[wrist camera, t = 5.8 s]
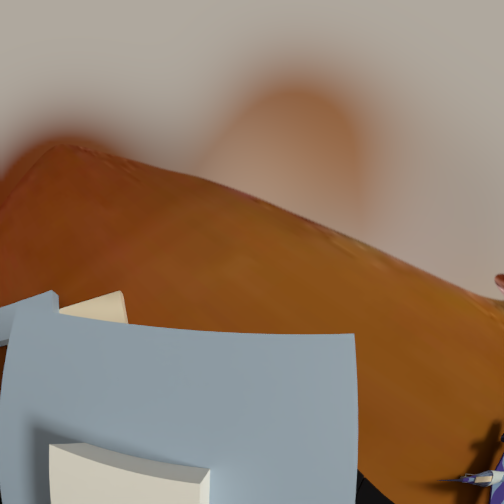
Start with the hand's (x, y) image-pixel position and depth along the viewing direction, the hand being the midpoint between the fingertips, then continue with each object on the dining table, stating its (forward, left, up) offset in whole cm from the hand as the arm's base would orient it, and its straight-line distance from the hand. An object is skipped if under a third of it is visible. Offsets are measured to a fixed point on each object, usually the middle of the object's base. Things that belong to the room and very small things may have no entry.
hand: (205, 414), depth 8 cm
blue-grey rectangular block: (-1, 0, -7) cm, 7 cm away
